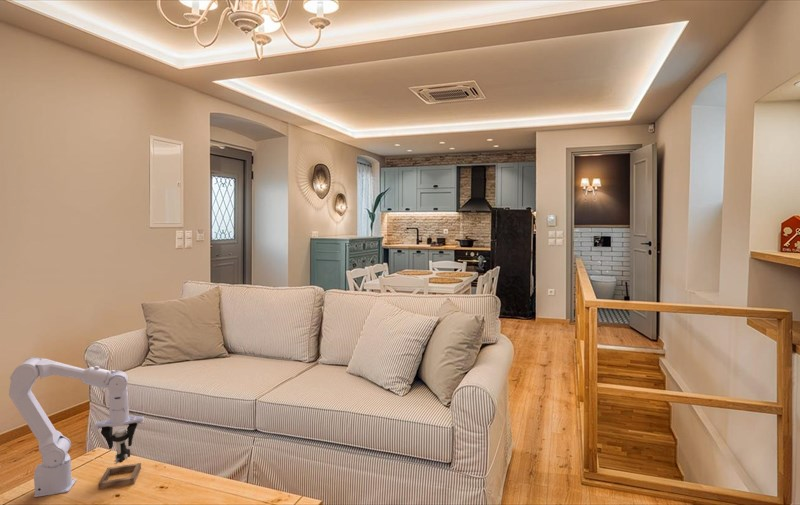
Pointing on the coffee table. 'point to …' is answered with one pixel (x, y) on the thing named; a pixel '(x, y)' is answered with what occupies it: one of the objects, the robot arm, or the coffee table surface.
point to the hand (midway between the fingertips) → (120, 446)
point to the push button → (121, 445)
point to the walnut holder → (123, 481)
